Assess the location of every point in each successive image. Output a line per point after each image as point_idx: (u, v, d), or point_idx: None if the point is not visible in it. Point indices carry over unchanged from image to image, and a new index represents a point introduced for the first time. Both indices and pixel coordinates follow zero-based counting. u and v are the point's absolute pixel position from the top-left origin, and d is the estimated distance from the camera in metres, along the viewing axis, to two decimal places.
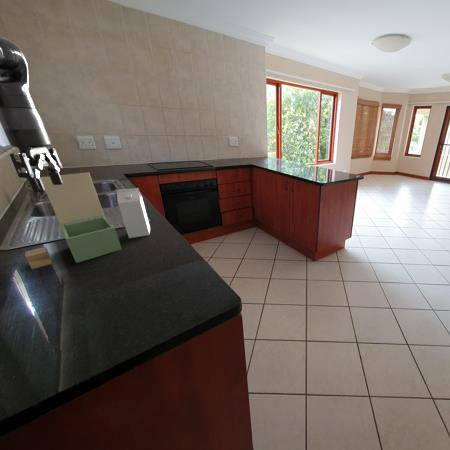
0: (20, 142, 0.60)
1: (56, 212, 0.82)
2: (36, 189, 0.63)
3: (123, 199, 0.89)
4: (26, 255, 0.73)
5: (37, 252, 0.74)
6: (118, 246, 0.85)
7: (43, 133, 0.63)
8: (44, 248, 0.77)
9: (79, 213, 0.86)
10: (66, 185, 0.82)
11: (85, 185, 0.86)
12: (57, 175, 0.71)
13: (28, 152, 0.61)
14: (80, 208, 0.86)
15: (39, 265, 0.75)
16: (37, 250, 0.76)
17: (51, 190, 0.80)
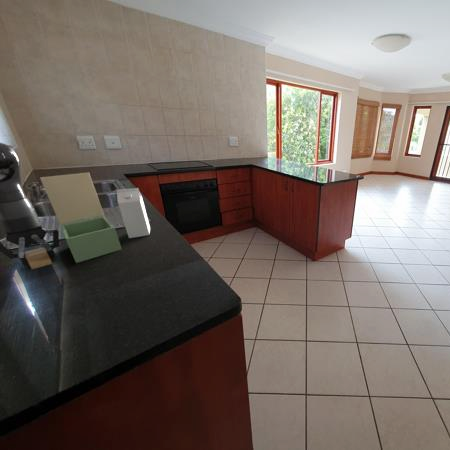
0: (3, 228, 0.69)
1: (56, 212, 0.82)
2: None
3: (123, 199, 0.89)
4: (26, 255, 0.73)
5: (37, 252, 0.74)
6: (118, 246, 0.85)
7: (16, 222, 0.68)
8: (44, 248, 0.77)
9: (79, 213, 0.86)
10: (66, 185, 0.82)
11: (85, 185, 0.86)
12: (48, 254, 0.77)
13: (6, 238, 0.69)
14: (80, 208, 0.86)
15: (39, 265, 0.75)
16: (37, 250, 0.76)
17: (51, 190, 0.80)
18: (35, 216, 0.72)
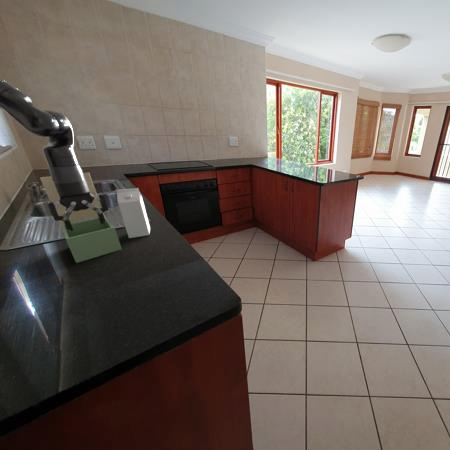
0: None
1: None
2: (67, 228, 0.78)
3: (123, 199, 0.89)
4: None
5: None
6: (118, 246, 0.85)
7: (70, 186, 0.73)
8: None
9: (79, 213, 0.86)
10: None
11: None
12: (98, 216, 0.82)
13: (60, 200, 0.74)
14: None
15: None
16: None
17: (51, 190, 0.80)
18: (85, 182, 0.77)
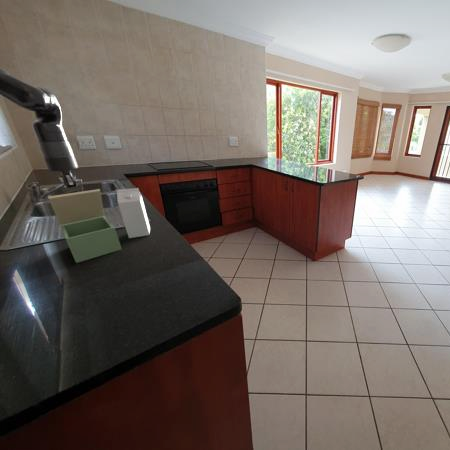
0: None
1: (59, 218, 0.80)
2: None
3: (123, 199, 0.89)
4: None
5: None
6: (118, 246, 0.85)
7: None
8: None
9: (81, 216, 0.85)
10: (74, 201, 0.78)
11: (93, 199, 0.82)
12: None
13: None
14: (83, 214, 0.85)
15: None
16: None
17: (58, 205, 0.76)
18: (54, 160, 0.75)
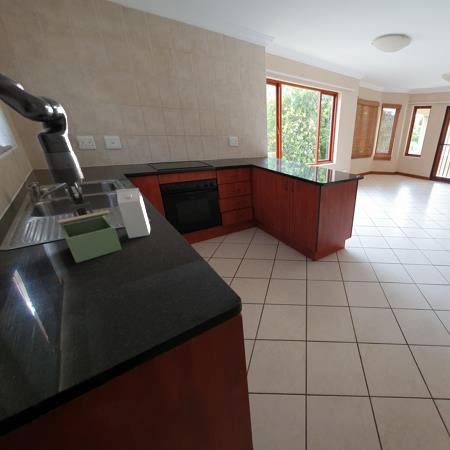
0: None
1: (61, 224, 0.81)
2: None
3: (123, 199, 0.89)
4: None
5: None
6: (118, 246, 0.85)
7: None
8: None
9: (82, 220, 0.86)
10: (81, 218, 0.78)
11: (100, 215, 0.82)
12: None
13: None
14: (85, 219, 0.85)
15: None
16: None
17: (65, 222, 0.76)
18: (59, 172, 0.73)
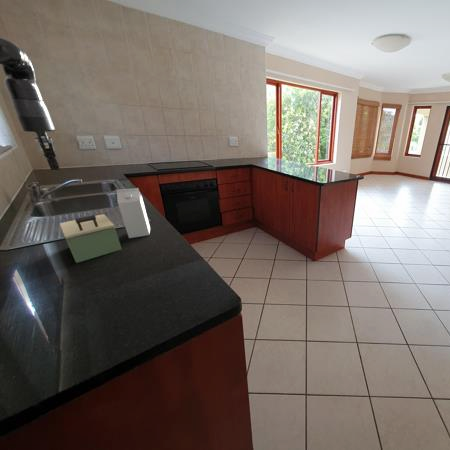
0: None
1: None
2: None
3: (123, 199, 0.89)
4: None
5: None
6: (118, 246, 0.85)
7: (19, 120, 0.75)
8: None
9: None
10: None
11: None
12: None
13: None
14: None
15: None
16: None
17: None
18: (28, 119, 0.74)
